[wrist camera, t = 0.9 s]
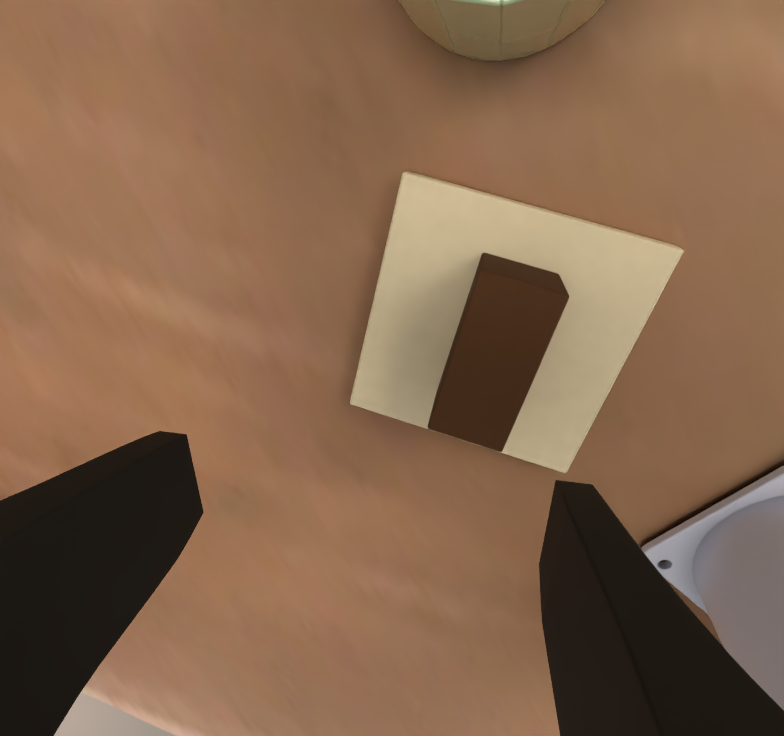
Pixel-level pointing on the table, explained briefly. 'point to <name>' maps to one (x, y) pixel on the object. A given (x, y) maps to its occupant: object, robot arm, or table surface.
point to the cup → (499, 24)
